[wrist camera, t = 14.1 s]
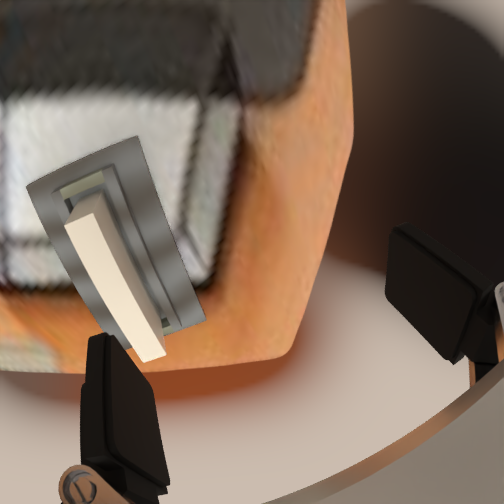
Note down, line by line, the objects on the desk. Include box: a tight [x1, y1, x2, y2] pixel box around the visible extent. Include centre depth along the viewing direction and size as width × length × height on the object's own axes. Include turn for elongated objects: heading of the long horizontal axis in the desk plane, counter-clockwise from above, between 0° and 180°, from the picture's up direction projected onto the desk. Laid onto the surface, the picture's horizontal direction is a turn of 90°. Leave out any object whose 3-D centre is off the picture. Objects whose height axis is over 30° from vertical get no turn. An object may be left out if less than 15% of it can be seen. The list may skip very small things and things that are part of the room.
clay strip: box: [64, 189, 167, 363], centre depth 32 cm, size 18×3×8 cm, turn 14°
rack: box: [26, 136, 206, 350], centre depth 35 cm, size 26×14×3 cm, turn 14°
